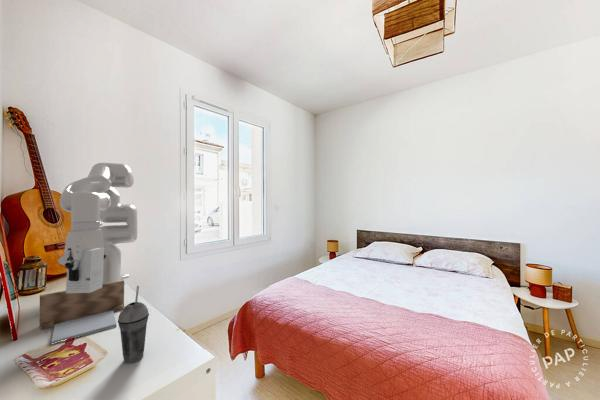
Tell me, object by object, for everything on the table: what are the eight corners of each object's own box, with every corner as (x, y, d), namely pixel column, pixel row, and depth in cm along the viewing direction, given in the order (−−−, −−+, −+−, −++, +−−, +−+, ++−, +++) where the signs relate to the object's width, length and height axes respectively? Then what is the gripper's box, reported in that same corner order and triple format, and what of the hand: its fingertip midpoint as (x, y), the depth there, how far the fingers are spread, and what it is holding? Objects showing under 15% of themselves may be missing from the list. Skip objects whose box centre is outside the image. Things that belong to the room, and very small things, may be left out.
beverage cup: (111, 363, 65) (111, 290, 65) (137, 348, 72) (137, 281, 72) (129, 370, 63) (129, 293, 63) (155, 353, 70) (155, 284, 70)
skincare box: (65, 293, 81) (65, 249, 81) (81, 287, 87) (81, 246, 87) (90, 293, 82) (90, 249, 82) (104, 287, 88) (104, 246, 88)
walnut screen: (122, 304, 103) (122, 278, 103) (124, 308, 98) (124, 282, 98) (40, 323, 87) (40, 293, 87) (38, 330, 82) (38, 298, 82)
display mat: (112, 312, 95) (112, 310, 95) (116, 326, 85) (116, 323, 85) (55, 327, 84) (55, 324, 84) (51, 344, 74) (51, 341, 74)
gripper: (102, 224, 94) (102, 270, 94) (47, 229, 77) (47, 285, 77) (118, 224, 92) (118, 271, 92) (65, 229, 75) (65, 286, 75)
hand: (85, 277), depth 84 cm, fingers closed on skincare box, 6 cm apart
